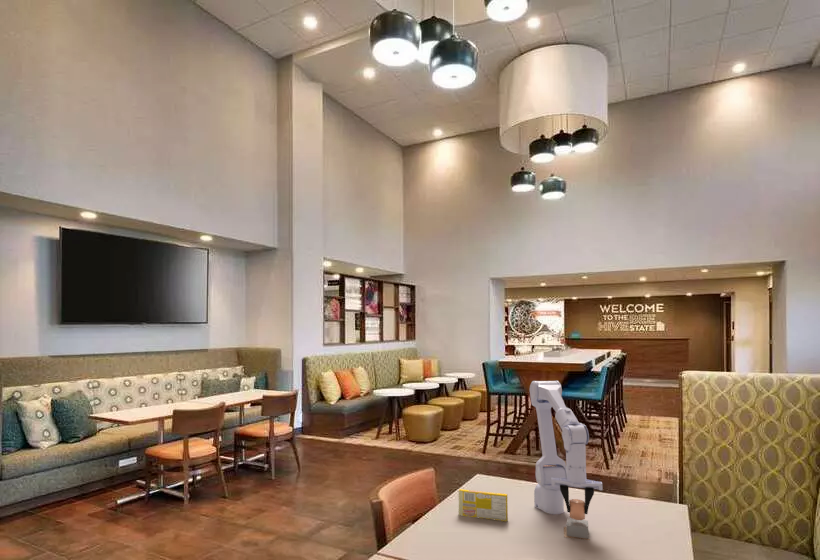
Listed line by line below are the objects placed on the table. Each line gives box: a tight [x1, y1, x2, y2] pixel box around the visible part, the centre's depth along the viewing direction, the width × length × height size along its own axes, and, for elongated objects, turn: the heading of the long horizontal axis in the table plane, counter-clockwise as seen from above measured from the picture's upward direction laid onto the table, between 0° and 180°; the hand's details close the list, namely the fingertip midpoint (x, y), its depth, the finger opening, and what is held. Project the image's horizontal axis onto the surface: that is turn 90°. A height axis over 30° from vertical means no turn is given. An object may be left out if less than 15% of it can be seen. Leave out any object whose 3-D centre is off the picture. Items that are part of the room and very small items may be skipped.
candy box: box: [458, 488, 509, 522], centre depth 165 cm, size 16×2×8 cm, turn 71°
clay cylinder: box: [569, 498, 586, 520], centre depth 149 cm, size 4×4×4 cm
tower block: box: [566, 517, 589, 539], centre depth 149 cm, size 6×6×3 cm
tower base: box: [563, 526, 591, 541], centre depth 149 cm, size 8×8×2 cm
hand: (577, 512), depth 149 cm, fingers closed on clay cylinder, 4 cm apart
